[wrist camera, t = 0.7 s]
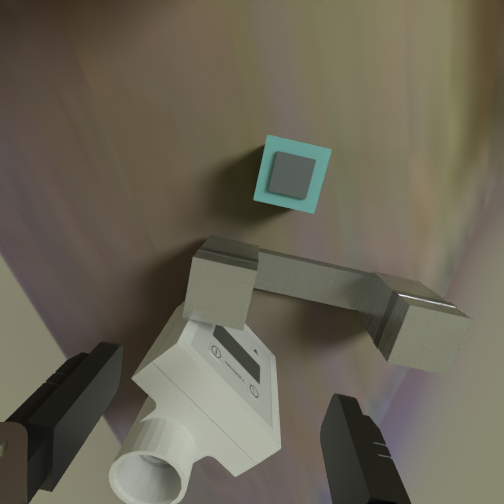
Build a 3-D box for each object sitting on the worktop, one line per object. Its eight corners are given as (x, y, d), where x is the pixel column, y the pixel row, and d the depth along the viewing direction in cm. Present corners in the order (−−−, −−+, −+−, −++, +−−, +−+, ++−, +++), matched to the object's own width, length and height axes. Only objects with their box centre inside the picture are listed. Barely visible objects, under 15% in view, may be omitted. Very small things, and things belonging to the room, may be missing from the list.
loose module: (266, 143, 29) (267, 133, 22) (316, 154, 29) (332, 148, 22) (255, 194, 30) (253, 200, 23) (302, 204, 30) (314, 214, 23)
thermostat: (275, 356, 35) (284, 485, 21) (189, 416, 38) (144, 566, 23) (207, 282, 33) (163, 367, 19) (122, 350, 36) (25, 471, 21)
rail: (213, 231, 31) (192, 256, 22) (413, 276, 32) (473, 318, 23) (204, 277, 33) (181, 317, 24) (396, 319, 33) (446, 375, 24)
